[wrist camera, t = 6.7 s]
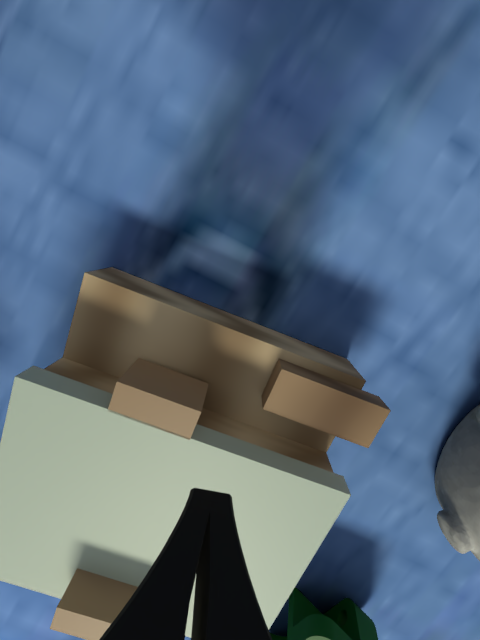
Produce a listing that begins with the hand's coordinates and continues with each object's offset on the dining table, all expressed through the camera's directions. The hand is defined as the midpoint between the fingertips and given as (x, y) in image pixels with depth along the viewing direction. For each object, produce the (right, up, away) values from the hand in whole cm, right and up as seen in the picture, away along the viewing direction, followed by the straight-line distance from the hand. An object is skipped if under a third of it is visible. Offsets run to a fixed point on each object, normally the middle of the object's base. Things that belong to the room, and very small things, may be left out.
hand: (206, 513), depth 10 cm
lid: (-3, -3, +8) cm, 9 cm away
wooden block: (+6, +2, +6) cm, 9 cm away
